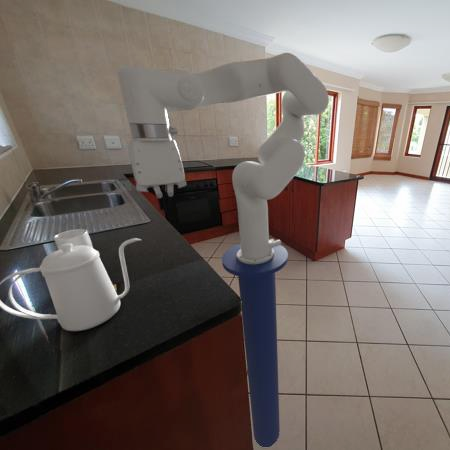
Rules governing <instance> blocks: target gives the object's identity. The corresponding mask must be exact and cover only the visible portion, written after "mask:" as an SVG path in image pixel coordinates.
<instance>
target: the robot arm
mask: <svg viewBox="0 0 450 450" xmlns="http://www.w3.org/2000/svg"><path fill="white" fill-rule="evenodd" d="M117 79H118V83H119V88H120V91H121V96H122V100H123V104H124V108H125V112H126V117H127V121H128V126H129V129H130V134H131V138H132V139H128V152H129V159H130V164H131V165H130V166H131V169H132V175H133V177H134V178H133V179H134V181H135V190H136V191H137V192H140V193H141V192H142V193H143V192H144V193H150V194H151V195H153V196H155V197H157V203H158V205H159V206H158V207H159V210H160V211H163V212H164V214H168V213H170V214H171V213H173V209H174V208H175V205H174V200H173V199H174V198H173V196H174V194H175V193H176V191H177V190H178V189H181V188H183V187H186V186H187V180H186V175H185V170H184V165H183V161H182V157H181V153H180V151H179V148H178V145H177V142H176V140H175V139H172V138H173V136H174V135H178V129H177V128H176V127H173V126H171V125H170V122H169V118H168V117H169V116H168V111H167V109H168V110H171V111H174V112H182V111H190V110H194V109H197V108H200V107H205V106H211V105H216V104H227V103H228V104H229V103H230V104H231V103H236V102H237V103H238V102H242V101H247V100H251V99H256V98H260V97H265V96H269V95H274V94H278V93H279V94H280V93H284V94H283V96H282V99H281V110H282V118H281V122H280V123H279V124H278V126H277V127H276V128H275V129H274V131H272V133H270V135H269V136H268V137H267V138H266V139H265V140H264V141H263V142H262V143H261V145H260V146H259V148H258V151H257V159H258V161H259V162H256V161H251V160H250V161H249V160H248V161H246V160H245V161H241V162H240V163H238V164H237V165H236V166H235V167H234V169H233V171H232V174H231V181H232V187H233V190H234V196H235V200H236V207H237V208H236V209H237V219H238V220H237V221H238V230H239V241H240V243H239V244H241V249H240V250H239V251H238V252H237V259H238V260H239V261H240V262H242V263H245V264H261V263H265V262H267V261H269V260H270V259H272V258H273V256H274V250H273V249H272V248H274V246H278V245H281V246H282V241H281V240H280V239H276V240H275V239H274V238H270V232H269V230H270V229H269V206H268V200H272V199H275V198H276V197H277V196H279V195H280V193H282V192H283V190H284V189H285V188H286V187H287V186H288V184H289V183H290V182H291V181H292V180H293V179H294V177H295V176H296V175H297V174H298V172H299V171H300V170H301V169H302V167H303V165H304V161H305V156H306V154H305V148H304V146H303V144H302V143H301V142H302V140H303V138H304V136H305V124H304V122H305V121H304V117H309V116H311V117H312V116H313V117H314V116H320V115H322V114H323V113H324V112H325V111H326V110H327V108H328V106H329V101H330V100H329V99H330V98H329V93H328V91H327V88H326V86H325V85H324V84H323V82H322V81H321V80H320V79H319V78H318V77H317V76H316V74H315V73H314V72H313V71H312V70H311V69H310V68H309V67H308V66H307V65H306V64H305V63H304V62H303V60H301V59H300V58H299V57H298V56H296V55H294V54H293V53H291V52H283V53H280V54H277V55H275V56H274V55H273V56H272V57H267V58H260V59H259V58H258V59H252V60H244V61H233V62H228V63H225V64H222V65H219V66H216V67H213V68H211V69H208V70H204V71H200V72H196V73H195V72H194V73H191V72H189V71H186V70H181V69H179V70H178V69H176V70H175V69H173V70H172V69H171V70H170V69H169V70H168V69H165V70H164V69H152V68H150V67H145V66H139V65H122V66H120V67H118V68H117ZM163 185H165V192H164V194H163V192H162V191H161V188H160V186H163Z"/></svg>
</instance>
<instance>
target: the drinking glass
mask: <svg viewBox="0 0 450 450" xmlns="http://www.w3.org/2000/svg"><path fill="white" fill-rule="evenodd" d="M53 240H54V243H55V246H56V248H57V250H60V249H59V247H58V246H60V245H62V244H66V243H72V245H73V246H90V247H92V248H93V249H94V245H93V242H92V240H91V237H90V235H89V231H88V230H87V229H84V228H78V229H77V228H76V229H70V230H66V231H62V232H60V233H57V234H55V235H54V236H53Z"/></svg>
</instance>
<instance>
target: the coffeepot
mask: <svg viewBox="0 0 450 450" xmlns="http://www.w3.org/2000/svg"><path fill="white" fill-rule="evenodd" d="M140 241H142V239H141V238H137V237H133V238H130V239H127V240H125V241H123V242H122V243H121V244H120V245H119V248H118V256H119V261H120V266H121V271H122V272H121V273H122V277H123V281H124V291H122V293H121V294H119V295H118V293H117V290H116V291H115V289H114V287H113V285H114V284H113V282H112V281H111V279H110V276H109V274H108V272H107V269H106V268H105V265H104V264H103V262H102V260H101V257H100V251H99V250H96V249H95V248H94V247H93V248H92V247H90V246H73V245H72V243H66V244H62V245H60V246H58V247H59V249H60V250H58V249H57V250H55V251H52V252H51V253H49V254H48V255H46V256H44V258H43V259H42V260H41V264H40V266H39V267H31V268H26V269H23V270H19V271H16V272H14V273H12V274H9V275H7V276H6V277H4V278H3V279H2V280H1V281H0V286H1V285H2V284H3V283H5V282H6V281H7V280H9V279H11V278H13V277H16V276H17V277H16V278H15V279H14V280H13V281H12V283H11V284H10V286H9V288H8V294H7V295H8V298H9V302H10V303H11V305H12V306H13V308H15V309H16V310H15V309H13V308H11V307H10V306H8V305H7V304H5V303H4V302H3V301H2V300H1V299H0V309H1V310H3V311H4V312H6V313H9V314H10V315H13V316H16V317H19V318H23V319H24V318H25V319H32V320H52V319H54V320H57V322H58V324H59V325H60V327H61V328H62V329H63V330H64V331H68V332H81V331H87V330H91V329H93V328H95V327H97V326H98V327H99V326H100V325H102V324H104V323H105V322H108V321H109V320H110V319H112V317H113V316H115V315H116V314H117V313H118V311H119V310H120V307H121V299H122V298H125V297H126V295H128V294H129V291H130V279H129V274H128V269H127V264H126V263H127V262H126V259H125V253H124V249H125V247H126V246H128V245H130V244H133V243H136V242H140ZM37 272H41V275H42V278H43V277H44V279H45V283H46V287H47V289H48V292H49V295H50V299H51V300H52V304H53V307H54V310H55V313H56V314H51V313H48V314H43V313H39V312H35V311H32V310H29V309H26V308H24V307H22V306H21V305H20V304H19V303H18V302H17V301H16V300H15V297H14V295H13V285H14V284H15V283H16V282H17V281H18V280H20V279H21V278H22V277H23V276H25V275H27V274H30V273H37Z"/></svg>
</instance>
